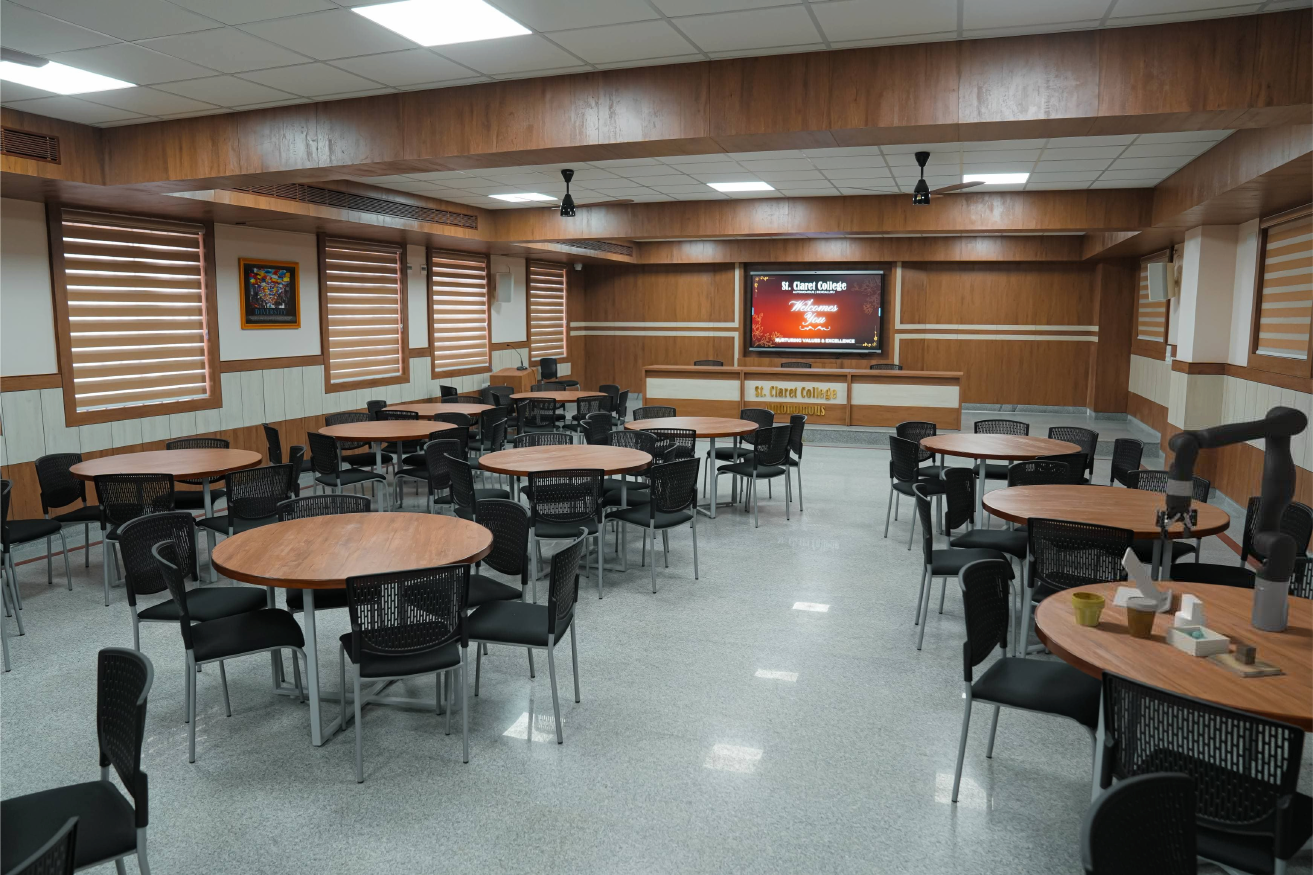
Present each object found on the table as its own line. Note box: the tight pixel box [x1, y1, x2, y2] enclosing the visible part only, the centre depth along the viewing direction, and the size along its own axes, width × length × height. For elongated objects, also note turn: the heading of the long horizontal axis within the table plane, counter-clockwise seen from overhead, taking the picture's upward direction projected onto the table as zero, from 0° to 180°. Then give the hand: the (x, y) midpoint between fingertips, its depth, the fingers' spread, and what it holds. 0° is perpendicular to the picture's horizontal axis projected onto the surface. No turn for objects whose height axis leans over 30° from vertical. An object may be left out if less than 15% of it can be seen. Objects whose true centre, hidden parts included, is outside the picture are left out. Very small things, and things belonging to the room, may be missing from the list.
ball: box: [1192, 631, 1204, 640], centre depth 274 cm, size 3×3×3 cm
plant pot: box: [1070, 591, 1106, 627], centre depth 293 cm, size 10×10×10 cm
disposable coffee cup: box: [1125, 596, 1158, 639], centre depth 282 cm, size 10×10×12 cm
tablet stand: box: [1112, 547, 1174, 614], centre depth 316 cm, size 18×25×17 cm
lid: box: [1208, 642, 1283, 675], centre depth 257 cm, size 13×13×6 cm
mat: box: [1205, 656, 1285, 678], centre depth 257 cm, size 14×14×1 cm
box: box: [1165, 625, 1231, 658], centre depth 271 cm, size 12×12×5 cm
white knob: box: [1173, 593, 1208, 628], centre depth 283 cm, size 9×9×12 cm
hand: (1175, 539), depth 290 cm, fingers open, 8 cm apart
